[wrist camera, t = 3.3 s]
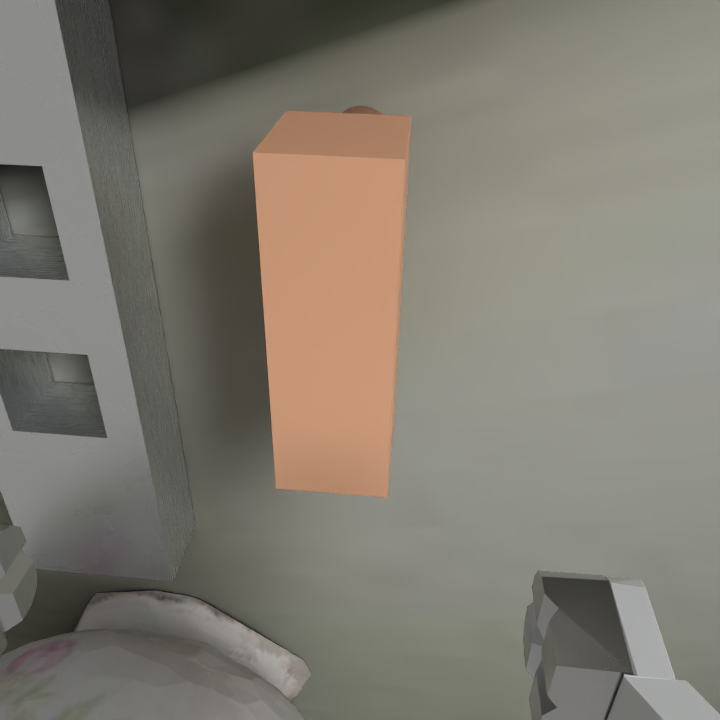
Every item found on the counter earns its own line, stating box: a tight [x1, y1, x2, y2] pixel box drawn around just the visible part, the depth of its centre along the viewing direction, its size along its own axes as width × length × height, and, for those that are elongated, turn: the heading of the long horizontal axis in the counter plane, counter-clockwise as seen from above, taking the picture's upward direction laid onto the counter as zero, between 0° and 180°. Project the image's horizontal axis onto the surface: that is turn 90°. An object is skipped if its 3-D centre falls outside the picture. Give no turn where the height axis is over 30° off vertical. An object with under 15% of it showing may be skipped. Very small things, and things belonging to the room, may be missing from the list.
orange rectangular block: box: [253, 106, 411, 498], centre depth 19 cm, size 9×3×7 cm, turn 179°
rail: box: [0, 0, 195, 582], centre depth 22 cm, size 24×6×3 cm, turn 179°
